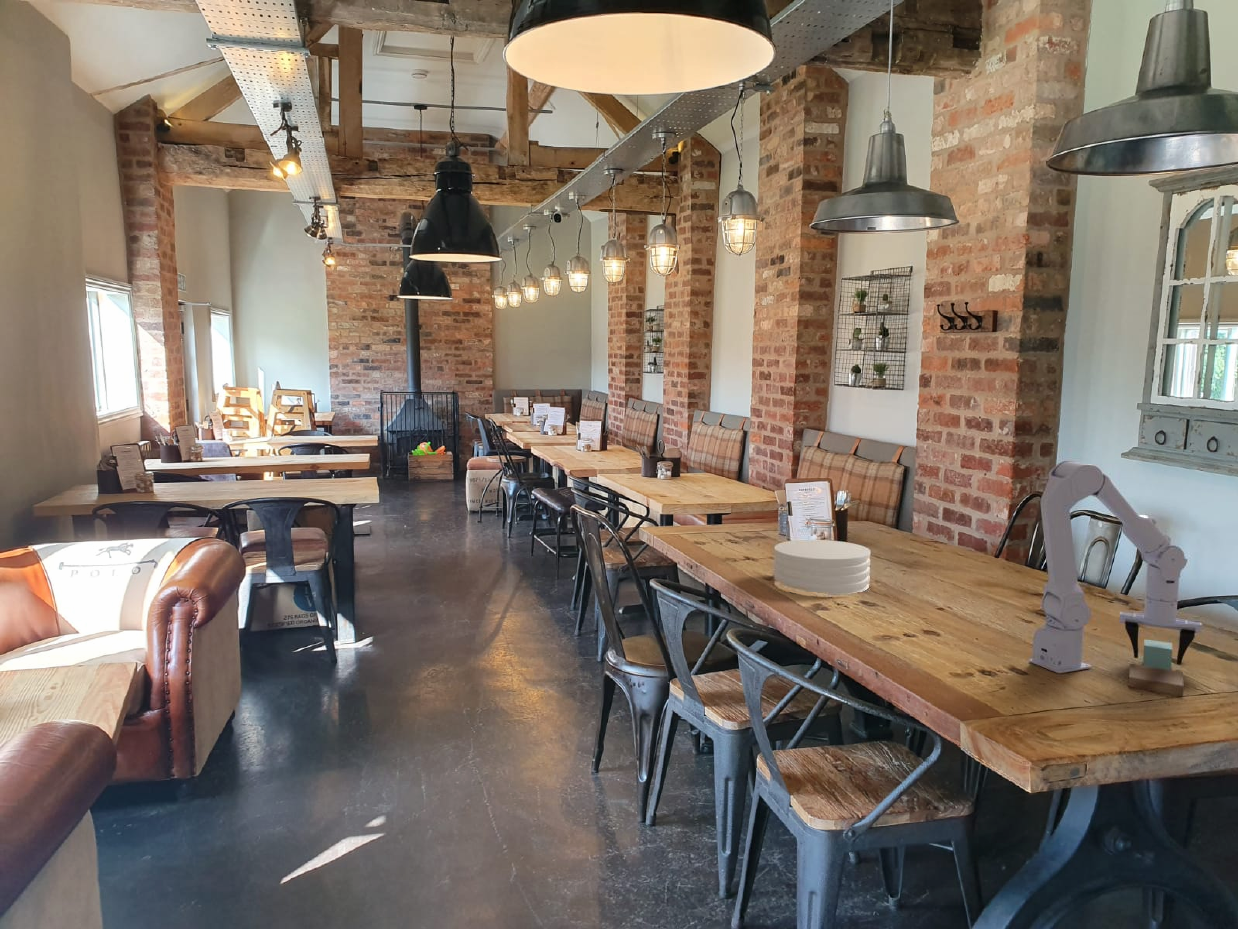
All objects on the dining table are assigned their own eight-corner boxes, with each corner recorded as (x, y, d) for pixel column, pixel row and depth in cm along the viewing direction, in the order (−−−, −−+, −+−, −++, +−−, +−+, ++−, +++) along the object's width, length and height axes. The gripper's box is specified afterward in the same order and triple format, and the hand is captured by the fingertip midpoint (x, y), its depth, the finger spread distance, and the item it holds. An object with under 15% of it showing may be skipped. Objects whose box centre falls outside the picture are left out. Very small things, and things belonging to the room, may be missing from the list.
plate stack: (833, 604, 224) (834, 563, 223) (754, 585, 245) (755, 548, 244) (887, 587, 243) (888, 549, 241) (809, 570, 264) (810, 536, 262)
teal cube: (1142, 668, 173) (1144, 645, 173) (1143, 661, 177) (1144, 639, 177) (1170, 672, 171) (1172, 649, 170) (1170, 665, 175) (1172, 643, 174)
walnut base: (1128, 686, 163) (1129, 676, 163) (1129, 673, 170) (1130, 663, 170) (1182, 695, 158) (1183, 686, 158) (1181, 681, 165) (1182, 672, 165)
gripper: (1202, 598, 172) (1197, 660, 173) (1121, 589, 180) (1118, 648, 181) (1203, 606, 166) (1199, 670, 167) (1120, 596, 174) (1117, 657, 175)
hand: (1157, 660), depth 174 cm, fingers open, 7 cm apart
